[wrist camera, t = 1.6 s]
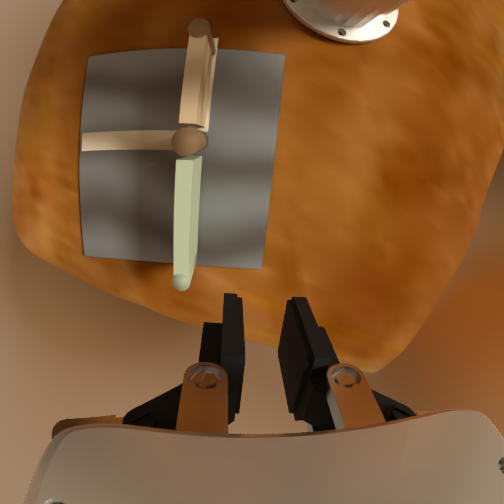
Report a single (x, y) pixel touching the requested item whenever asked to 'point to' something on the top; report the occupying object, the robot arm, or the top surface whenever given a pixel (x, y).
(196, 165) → the bar
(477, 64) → the top surface
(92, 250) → the base
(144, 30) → the top surface
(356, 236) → the top surface
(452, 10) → the top surface
